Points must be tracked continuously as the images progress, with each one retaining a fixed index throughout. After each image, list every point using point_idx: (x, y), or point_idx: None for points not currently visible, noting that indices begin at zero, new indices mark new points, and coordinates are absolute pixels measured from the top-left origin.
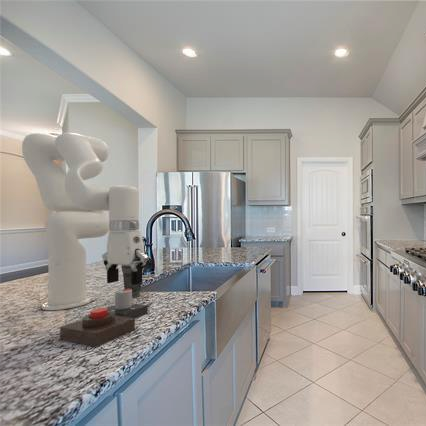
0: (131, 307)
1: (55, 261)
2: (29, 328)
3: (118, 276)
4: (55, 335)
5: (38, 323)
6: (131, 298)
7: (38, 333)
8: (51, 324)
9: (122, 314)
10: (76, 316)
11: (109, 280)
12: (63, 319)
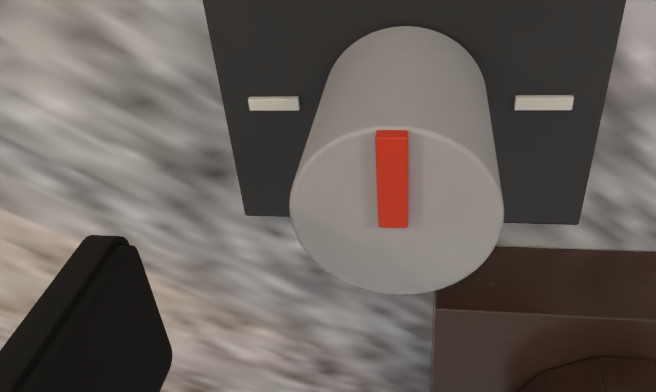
0: (494, 74)
1: None
2: None
3: (94, 301)
4: (336, 382)
5: (31, 308)
6: (482, 110)
7: (221, 381)
8: None
9: (567, 221)
10: (60, 183)
11: (160, 387)
12: (64, 239)
